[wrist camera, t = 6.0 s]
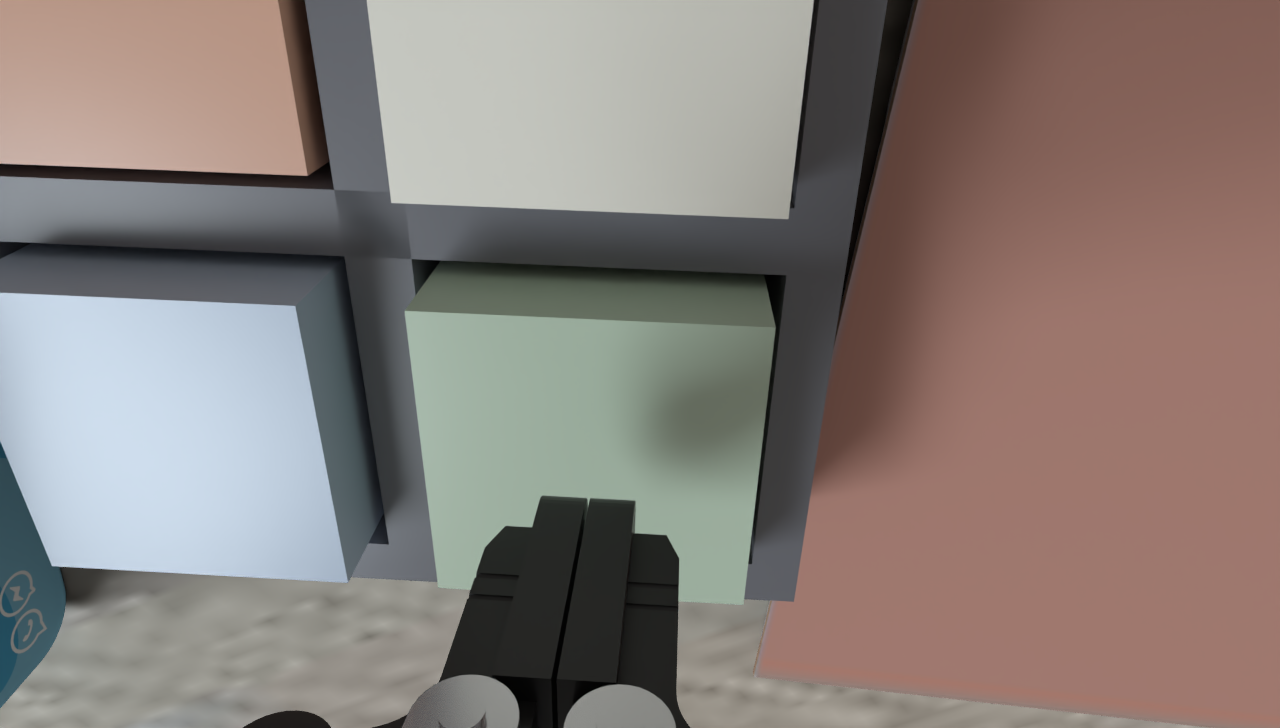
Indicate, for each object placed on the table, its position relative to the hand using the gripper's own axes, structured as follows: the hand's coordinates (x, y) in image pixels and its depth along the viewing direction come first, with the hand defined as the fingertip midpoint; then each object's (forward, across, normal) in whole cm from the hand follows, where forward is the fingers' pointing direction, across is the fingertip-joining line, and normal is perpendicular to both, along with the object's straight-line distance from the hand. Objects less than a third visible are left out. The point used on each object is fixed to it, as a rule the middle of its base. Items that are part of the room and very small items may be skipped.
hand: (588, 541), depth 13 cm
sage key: (+5, 0, 0) cm, 5 cm away
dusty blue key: (+5, +8, 0) cm, 10 cm away
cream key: (+5, 0, -8) cm, 9 cm away
